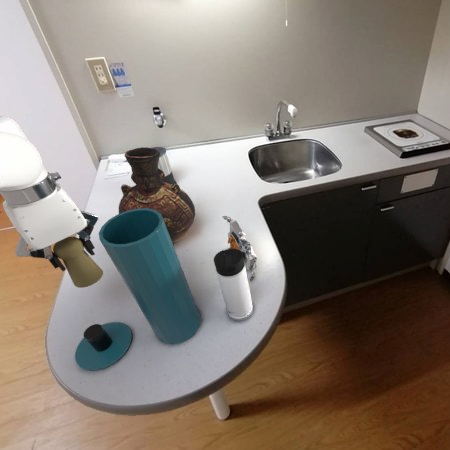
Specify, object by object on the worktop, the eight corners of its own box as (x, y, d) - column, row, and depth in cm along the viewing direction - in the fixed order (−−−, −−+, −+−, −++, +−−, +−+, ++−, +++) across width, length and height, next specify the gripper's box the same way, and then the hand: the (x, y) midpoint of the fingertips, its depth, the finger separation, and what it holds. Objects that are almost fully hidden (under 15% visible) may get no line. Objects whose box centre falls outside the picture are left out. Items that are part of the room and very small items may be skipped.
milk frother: (164, 177, 126) (153, 144, 117) (194, 186, 121) (185, 152, 112) (137, 195, 117) (122, 161, 107) (169, 206, 111) (156, 170, 102)
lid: (91, 383, 64) (75, 368, 60) (69, 350, 69) (53, 334, 65) (142, 343, 71) (131, 327, 66) (118, 316, 76) (106, 300, 72)
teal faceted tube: (172, 353, 69) (117, 255, 48) (147, 327, 74) (88, 228, 53) (209, 321, 75) (174, 223, 54) (184, 299, 80) (143, 201, 60)
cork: (108, 274, 71) (87, 238, 64) (82, 291, 67) (56, 256, 60) (94, 264, 73) (71, 228, 66) (68, 280, 69) (41, 244, 62)
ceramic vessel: (125, 261, 91) (76, 172, 71) (140, 223, 104) (102, 140, 84) (198, 253, 93) (170, 165, 73) (203, 217, 106) (180, 135, 87)
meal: (224, 251, 93) (216, 218, 85) (237, 246, 95) (230, 213, 87) (246, 283, 84) (240, 249, 75) (260, 276, 86) (255, 242, 77)
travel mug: (229, 325, 74) (213, 270, 61) (227, 303, 79) (212, 247, 66) (254, 319, 75) (244, 264, 62) (251, 298, 80) (241, 242, 67)
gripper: (71, 165, 62) (108, 232, 73) (-37, 203, 52) (25, 275, 63) (87, 176, 58) (123, 246, 70) (-27, 220, 48) (38, 293, 59)
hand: (76, 259), depth 66 cm, fingers closed on cork, 5 cm apart
